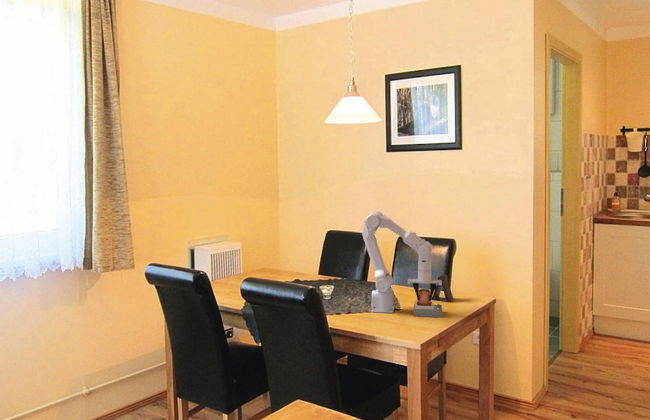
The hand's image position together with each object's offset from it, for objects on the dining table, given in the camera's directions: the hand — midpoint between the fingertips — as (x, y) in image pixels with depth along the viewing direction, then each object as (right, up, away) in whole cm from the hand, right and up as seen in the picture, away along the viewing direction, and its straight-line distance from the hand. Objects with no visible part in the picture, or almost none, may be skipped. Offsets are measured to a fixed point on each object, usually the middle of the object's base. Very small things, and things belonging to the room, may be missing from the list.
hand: (424, 300), depth 245 cm
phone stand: (+13, -4, +23) cm, 27 cm away
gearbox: (+1, -6, 0) cm, 6 cm away
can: (0, -2, +1) cm, 2 cm away
